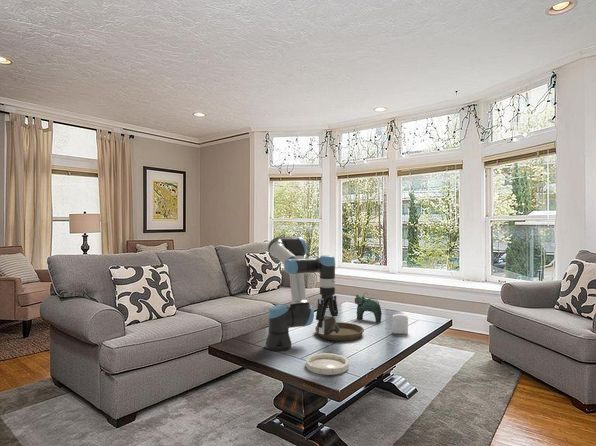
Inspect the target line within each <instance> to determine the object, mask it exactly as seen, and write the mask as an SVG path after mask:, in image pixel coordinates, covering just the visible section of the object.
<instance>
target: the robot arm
mask: <svg viewBox="0 0 596 446" xmlns="http://www.w3.org/2000/svg"><path fill="white" fill-rule="evenodd" d="M267 250H268V253H269V254H270V255H271V256H272V257H273V258H274V259H275V258H276V259H277V260H278V261H280V262H281V263H282V264H283V268H284V269H283V270H284V272H285V273H286V274H288V276H289V284H290V295H291V302H290V303H289V305H287V304H277V305H274V306H271V307H270V308H269V309H268V316H267V318H268V324H267V325H268V328H267V329H268V333H267V336H266V340H265V344H264V345H265V349H266V350H269V351H273V352H283V351H288V350H291V348H292V347H293V346H292V343H293V342H292V341H291V337H290V333H289V332H290V331H289V329H291V328H300V327H301V328H302V327H303V328H304V327H307V326H310V325H311V324H313V321H314V318H315V320H316V321H317V322H319V334H323V335H324V321H323V319H324V317H325V316H326V311H327V309H329V312H330V316H329V317H335V318H336V317H338V314H339V309H338V302H337V295H336V288H335V285H336V280H335V279H336V260H335V259H336V257H335V256H334V255H329V254H328V255H326V254H325V255H321V256H320V257H318V256H317V257H316V256H315V257H309V258H308V257H307V258H305V255H307V250H308V245H307V242H306V240H305V239H304V237H302V236H298V235H297V236H296V235H295V236H277V237H275V238H273V239H271V240H270V242H269V243H268V245H267ZM311 273H312V274H313V273H315V274H316V273H319V286H320V287H319V294H320V295H321V298H319V299H317V308H316V315H315V309H314V307H313V305H311V304H310V301H309V300H307V295H306V293H307V292H306V286H305V285H306V284H305V275H304V274H311ZM319 334H318V335H319Z"/></svg>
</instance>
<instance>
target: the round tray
mask: <svg viewBox="0 0 596 446" xmlns="http://www.w3.org/2000/svg"><path fill="white" fill-rule="evenodd" d="M349 364H350V363H349V359H348V358H347V357H345V356H344V355H341V354H337V353H326V352H323V353H315V354H311V355H309V356H307V357H306V360H305V367H306V369H307V370H308V371H309V372H311V373H314V374H318V375H325V376H333V375H340V374H343V373H346V372H347V371H348V370H349V368H350V366H349Z"/></svg>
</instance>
